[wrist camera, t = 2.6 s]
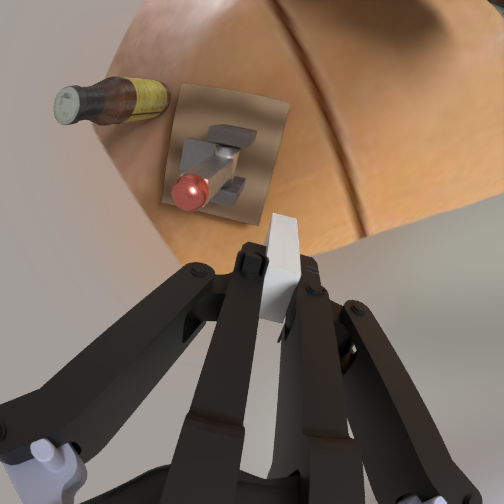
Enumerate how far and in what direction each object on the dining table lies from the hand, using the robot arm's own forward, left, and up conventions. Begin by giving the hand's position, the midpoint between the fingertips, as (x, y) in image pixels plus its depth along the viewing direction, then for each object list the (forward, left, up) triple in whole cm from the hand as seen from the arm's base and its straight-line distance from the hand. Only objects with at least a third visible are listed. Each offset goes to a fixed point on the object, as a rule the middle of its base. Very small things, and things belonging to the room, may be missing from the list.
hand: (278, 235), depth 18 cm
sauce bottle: (-6, -22, -25) cm, 34 cm away
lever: (0, -9, -18) cm, 20 cm away
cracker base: (0, -9, -25) cm, 27 cm away
